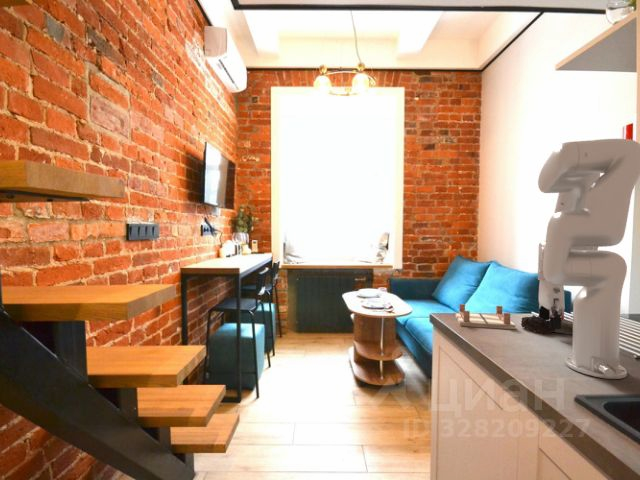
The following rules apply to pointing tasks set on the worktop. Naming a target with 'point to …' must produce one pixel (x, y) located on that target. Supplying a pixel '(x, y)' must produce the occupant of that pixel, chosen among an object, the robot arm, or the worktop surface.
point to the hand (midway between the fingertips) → (549, 324)
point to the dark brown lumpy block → (545, 325)
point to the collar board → (484, 319)
